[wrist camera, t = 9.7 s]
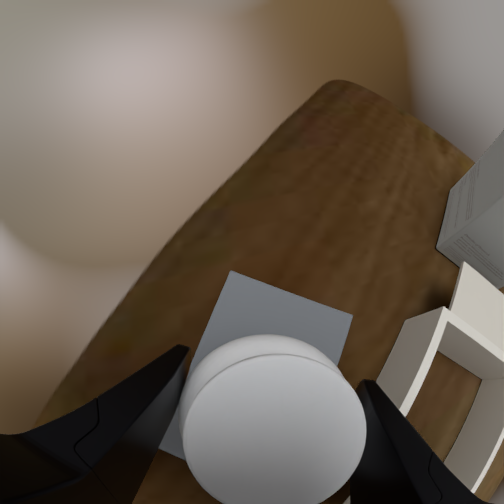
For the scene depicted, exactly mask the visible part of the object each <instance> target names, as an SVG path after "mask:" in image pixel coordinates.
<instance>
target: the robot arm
mask: <svg viewBox="0 0 504 504" xmlns="http://www.w3.org/2000/svg"><path fill="white" fill-rule="evenodd" d="M190 360H191V348H190V347H187V346H184V345H180V344H178V345H176V346H174V347H173V348H171V349H170V350H168V351H167V352H165V353H164V354H162V355H161V356H159V357H158V358H156V359H155V360H153V361H152V362H150V363H149V364H147V365H146V366H144V367H143V368H141V369H140V370H138V371H137V372H135V373H134V374H132V375H131V376H129V377H128V378H126V379H124V380H123V381H121V382H120V383H118V384H117V385H115V386H114V387H112V388H110V389H109V390H107V391H106V392H104V393H103V394H101V395H99V396H98V397H97V398H94V399H93V400H91V401H90V402H88V403H86V404H85V405H83V406H81V407H79V408H78V409H76V410H74V411H72V412H70V413H68V414H66V415H64V416H62V417H60V418H58V419H55V420H53V421H51V422H48V423H46V424H44V425H41V426H39V427H37V428H34V429H32V430H29V431H27V432H24V433H20V434H12V435H6V434H0V504H132V502H133V500H134V498H135V496H136V494H137V492H138V489H139V487H140V485H141V483H142V481H143V479H144V477H145V475H146V473H147V471H148V469H149V467H150V465H151V462H152V460H153V458H154V456H155V454H156V452H157V450H158V448H159V446H160V444H161V442H162V440H163V437H164V435H165V433H166V431H167V429H168V427H169V425H170V423H171V421H172V419H173V417H174V414H175V412H176V410H177V407H178V404H179V401H180V396H181V393H182V390H183V387H184V385H185V382H186V379H187V376H188V373H189V369H190ZM355 392H356V394H357V396H358V398H359V400H360V402H361V404H362V407H363V410H364V414H365V419H366V441H365V447H364V451H363V454H362V457H361V459H360V462H359V464H358V466H357V468H356V469H355V471H354V472H353V474H352V475H351V477H350V504H492V503H488V502H485V501H483V500H481V499H479V498H478V497H477V496H475V495H474V494H473V493H472V492H471V491H470V490H469V489H468V488H467V487H466V486H465V485H464V484H463V483H462V482H461V481H460V480H459V479H458V478H457V477H456V476H455V475H454V474H453V473H452V472H451V471H450V470H449V469H448V468H447V467H446V466H445V464H444V463H443V462H442V461H441V460H440V459H439V457H438V456H437V455H436V454H435V453H434V452H432V449H431V448H430V447H429V445H428V444H427V443H426V442H425V440H424V439H423V438H422V437H421V436H420V434H419V433H418V432H417V431H416V430H415V428H414V427H413V426H412V425H411V424H410V422H409V421H408V420H407V419H406V418H405V416H404V415H403V414H402V413H401V412H400V410H399V409H398V408H397V407H396V406H395V404H394V403H393V402H392V401H391V400H390V398H389V397H388V396H387V395H386V394H385V392H384V391H383V390H382V389H381V388H380V386H379V385H378V384H377V383H376V382H375V381H374V380H366V379H364V380H362V381H361V382H360V383H359V385H358V387H357V388H356V390H355Z"/></svg>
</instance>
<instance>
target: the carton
mask: <svg viewBox="0 0 504 504" xmlns="http://www.w3.org/2000/svg"><path fill="white" fill-rule="evenodd" d="M436 351H439V352H441V353H442V354H444V355H445V356H447V357H448V358H450V359H451V360H453V361H454V362H456V363H457V364H459V365H461V366H462V367H464V368H465V369H467V370H468V371H470V372H471V373H473V374H474V375H476V376H477V377H479V378H480V379H482V382H481V385H480V387H479V390H478V393H477V395H476V398H475V400H474V403H473V405H472V407H471V410H470V412H469V414H468V416H467V419H466V421H465V423H464V425H463V427H462V429H461V431H460V433H459V435H458V437H457V439H456V441H455V443H454V445H453V447H452V449H451V450H450V452H449V454H448V456H447V458H446V459H445V461H444V464H445V466H446V467H447V468H448V469H449V470H450V471H451V472H452V473H453V474H454V475H455V476H456V477H457V478H458V479H459V480H460V481H461V482H462V483H463V484H464V485H465V486H466V487H467V488H468V489H469V490H470V491H471V492H472V493H473V494H474V493H475V491H476V489H477V488H478V486H479V484H480V483H481V481H482V479H483V478H484V476H485V474H486V472H487V470H488V469H489V467H490V465H491V463H492V461H493V459H494V457H495V455H496V453H497V451H498V449H499V447H500V445H501V443H502V440H503V438H504V295H503V294H502V293H501V292H500V291H499V290H498V289H497V288H496V287H494V286H493V285H492V284H491V283H490V282H489V281H488V280H486V279H485V278H484V277H483V276H482V275H481V274H479V273H478V272H477V271H476V270H475V269H473V268H472V267H471V266H470V265H468V264H467V263H466V262H465V261H463V262H462V263H461V267H460V271H459V275H458V278H457V282H456V286H455V289H454V293H453V296H452V300H451V303H450V306H449V309H447V308H445V307H444V306H443V307H440V308H438V309H435V310H432V311H429V312H427V313H424V314H421V315H418V316H415V317H413V318H410V319H407V320H405V322H404V324H403V326H402V329H401V331H400V333H399V335H398V338H397V340H396V342H395V344H394V346H393V348H392V351H391V353H390V355H389V357H388V359H387V361H386V363H385V365H384V367H383V369H382V371H381V373H380V374H379V376H378V378H377V380H376V383H377V384H378V385H379V386H380V388H381V389H382V390H383V391H384V392H385V394H386V395H387V396H388V397H389V398H390V400H391V401H392V402H393V403H394V404H395V406H396V407H397V408H398V409H399V410H400V412H401V413H402V414H403V415H404V416H405V417H406V415H407V413H408V411H409V409H410V408H411V406H412V404H413V402H414V400H415V398H416V396H417V394H418V392H419V390H420V388H421V385H422V383H423V381H424V379H425V377H426V375H427V372H428V370H429V368H430V365H431V363H432V361H433V358H434V356H435V353H436ZM343 504H350V496H349V497H348V498H347V500H346V501H345V502H344V503H343Z"/></svg>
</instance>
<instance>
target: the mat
mask: <svg viewBox="0 0 504 504" xmlns="http://www.w3.org/2000/svg"><path fill="white" fill-rule="evenodd" d="M352 317H353V315H351V314H348V313H345V312H342V311H339V310H336V309H334V308H331V307H328V306H325V305H322V304H320V303H317V302H314V301H311V300H309V299H306V298H303V297H300V296H298V295H295V294H292V293H289V292H287V291H284V290H281V289H279V288H276V287H273V286H271V285H268V284H265V283H263V282H260V281H257V280H255V279H252V278H249V277H247V276H244V275H241V274H239V273H236V272H233V271H230V273H229V276H228V278H227V280H226V283H225V285H224V287H223V290H222V292H221V294H220V297H219V299H218V301H217V304H216V306H215V308H214V311H213V313H212V315H211V318H210V320H209V322H208V325H207V327H206V329H205V332H204V334H203V337H202V339H201V341H200V344H199V346H198V348H197V351H196V353H195V356H194V358H193V360H192V363H191V365H190V369H189V373H188V376H187V379H188V377H189V376H190V374H191V372H192V371H193V370H194V368H195V367H196V366H197V365H198V363H199V362H200V361H201V360H202V359H204V358H205V357H206V356H207V355H208V354H209V353H211V352H212V351H213V350H215V349H217V348H218V347H220V346H222V345H224V344H226V343H228V342H230V341H233V340H235V339H239V338H242V337H246V336H252V335H261V334H275V335H283V336H288V337H292V338H295V339H298V340H301V341H303V342H306V343H308V344H310V345H312V346H313V347H315V348H317V349H318V350H320V351H321V352H322V353H323V354H325V355H326V356H327V357H328V358H329V359H330V360H331V361H332V362H333V363H334V364H335V365H336V366H337V365H338V362H339V359H340V356H341V353H342V350H343V347H344V344H345V340H346V337H347V334H348V331H349V327H350V324H351V321H352ZM187 379H186V381H187ZM185 383H186V382H185ZM178 407H179V404H178ZM178 407H177V410H176V412H175V414H174V417H173V419H172V421H171V423H170V425H169V427H168V429H167V431H166V433H165V435H164V437H163V440H162V442H161V444H160V446H159V449H161V450H164V451H166V452H168V453H170V454H172V455H174V456H177V457H179V458H181V459H183V460H186V458H185V454H184V449H183V440H182V437H181V433H180V429H179V423H178Z"/></svg>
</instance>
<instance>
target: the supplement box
mask: <svg viewBox="0 0 504 504" xmlns="http://www.w3.org/2000/svg"><path fill="white" fill-rule="evenodd" d="M436 249H437V250H438V251H440V252H441V253H442V254H444V255H445V256H446V257H447V258H449V259H450V260H451V261H452V262H454V263H455V264H456V265H457V266H459V267H461V263H462V262H463V261H465V262H466V263H467V264H468V265H470V266H471V267H472V268H473V269H475V270H476V271H477V272H478V273H479V274H481V275H482V276H483V277H484V278H485V279H486V280H488V281H489V282H490V283H491V284H492V285H493V286H494V287H496V288H497V289H499V288H501V287H504V130H503V132H502V133H501V134H500V135H499V136H498V138H497V139H496V140H495V141H494V142H493V144H492V145H491V146H490V147H489V148H488V150H487V151H486V152H485V153H484V154H483V155H482V156H481V158H480V159H479V160H478V161H477V162H476V163H475V164H474V165H473V166H472V168H471V169H470V170H469V171H468V172H467V173H466V174H465V175H464V176H463V177H462V178H461V179H460V180H459V181H458V182H457V183H456V185H455V186H454V187H453V188H452V189H451V190H450V193H449V197H448V202H447V207H446V211H445V215H444V219H443V223H442V227H441V231H440V235H439V239H438V242H437V246H436Z"/></svg>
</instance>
